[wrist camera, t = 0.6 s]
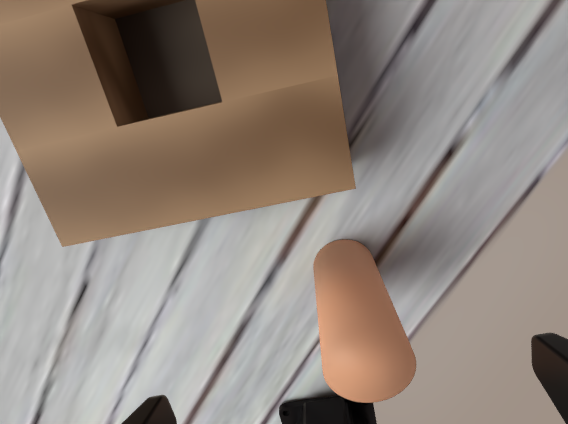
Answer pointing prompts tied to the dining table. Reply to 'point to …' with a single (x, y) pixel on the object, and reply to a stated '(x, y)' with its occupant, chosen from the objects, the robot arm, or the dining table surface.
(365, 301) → the peg
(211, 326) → the dining table surface
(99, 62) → the bore block
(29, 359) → the dining table surface
